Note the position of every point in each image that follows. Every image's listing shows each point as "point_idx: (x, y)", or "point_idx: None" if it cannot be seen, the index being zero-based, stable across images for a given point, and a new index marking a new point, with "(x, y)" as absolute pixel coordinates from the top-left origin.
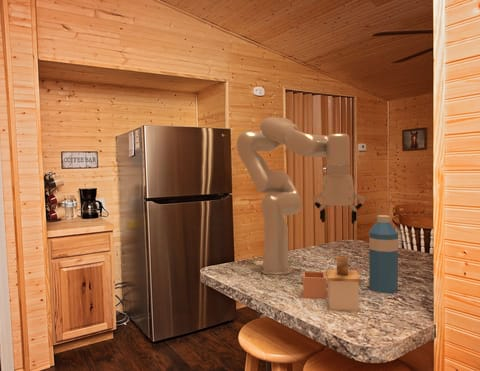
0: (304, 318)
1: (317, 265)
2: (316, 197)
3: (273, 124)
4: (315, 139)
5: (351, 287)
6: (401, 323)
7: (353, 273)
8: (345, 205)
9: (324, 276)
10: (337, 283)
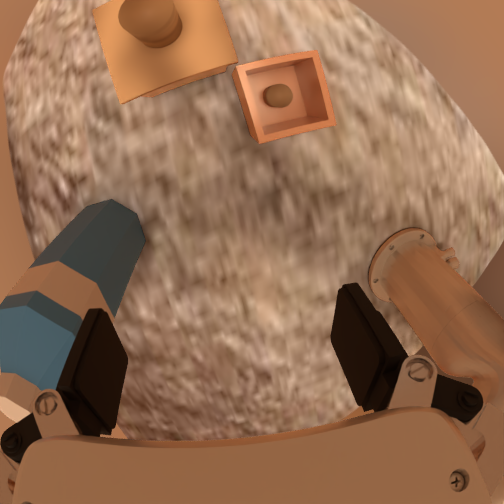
0: None
1: (313, 348)
2: (493, 455)
3: None
4: None
5: None
6: (46, 38)
7: (121, 57)
8: (99, 439)
9: (246, 86)
10: None
